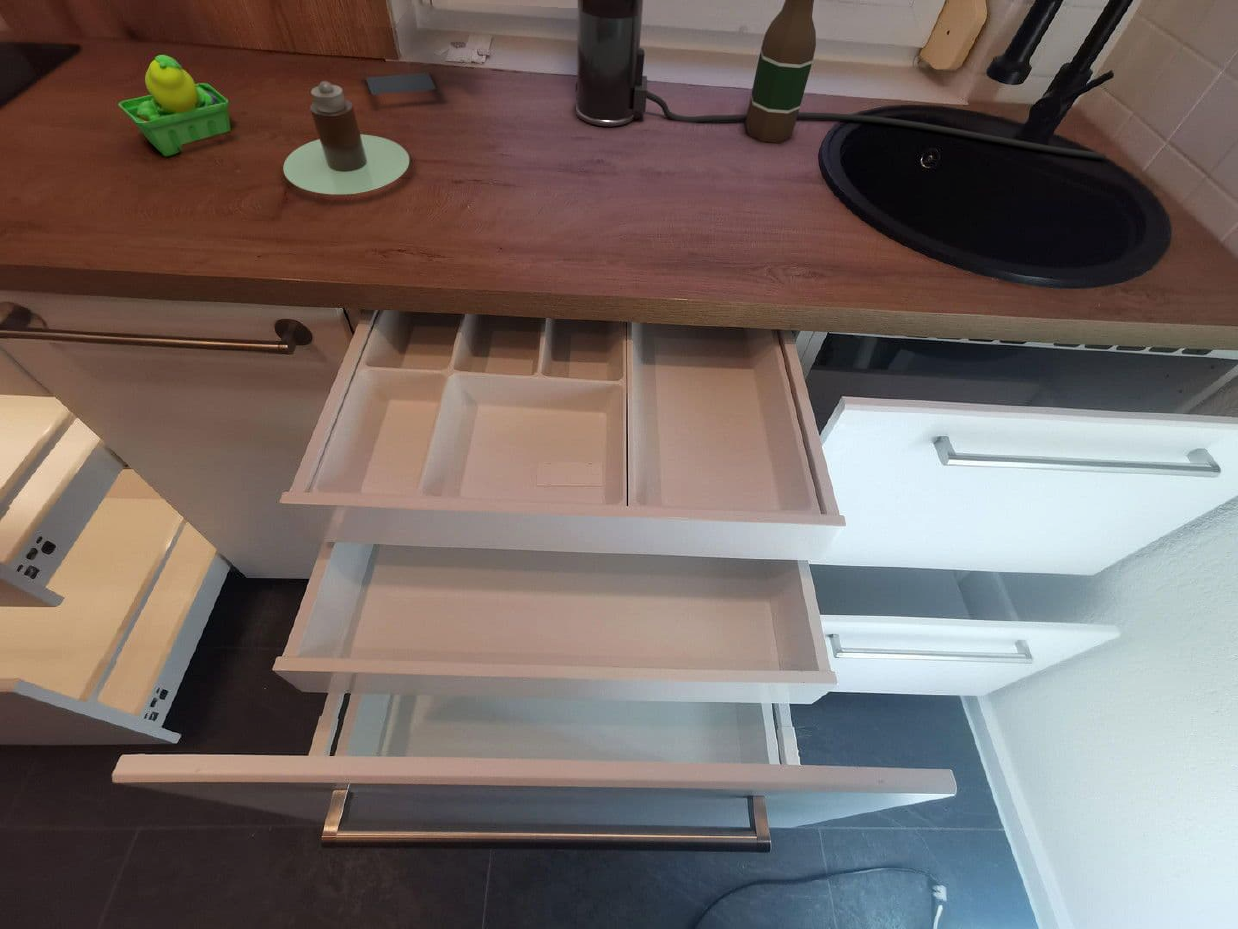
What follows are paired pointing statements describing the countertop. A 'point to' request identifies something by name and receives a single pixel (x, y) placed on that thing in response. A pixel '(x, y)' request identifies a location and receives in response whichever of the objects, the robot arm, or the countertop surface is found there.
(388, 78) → the mat
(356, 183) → the plate
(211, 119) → the fruit basket
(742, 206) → the countertop surface
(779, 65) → the beer bottle
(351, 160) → the pepper mill
